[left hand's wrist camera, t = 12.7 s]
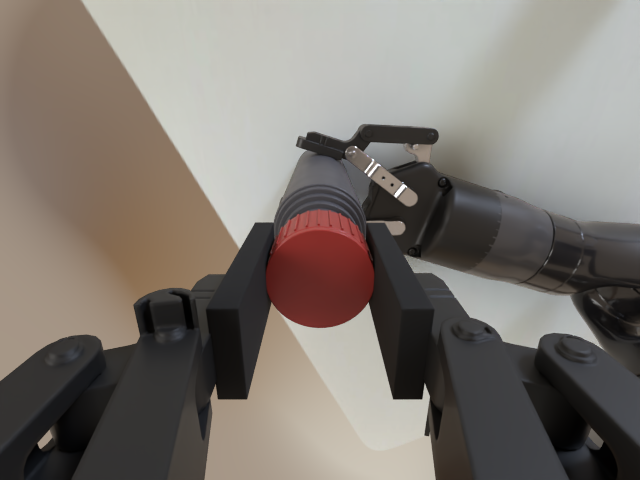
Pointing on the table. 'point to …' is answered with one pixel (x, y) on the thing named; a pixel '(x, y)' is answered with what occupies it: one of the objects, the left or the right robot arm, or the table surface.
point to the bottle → (319, 191)
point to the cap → (320, 270)
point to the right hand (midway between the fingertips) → (289, 173)
